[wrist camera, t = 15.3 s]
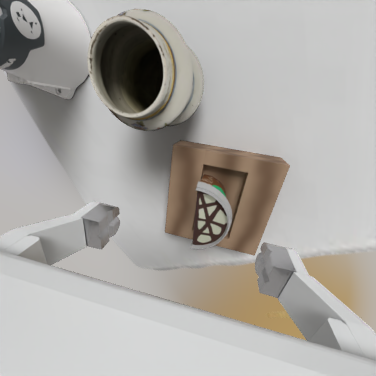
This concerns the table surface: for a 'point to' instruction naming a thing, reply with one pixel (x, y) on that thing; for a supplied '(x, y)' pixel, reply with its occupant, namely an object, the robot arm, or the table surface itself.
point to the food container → (210, 213)
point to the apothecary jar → (144, 70)
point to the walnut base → (234, 186)
